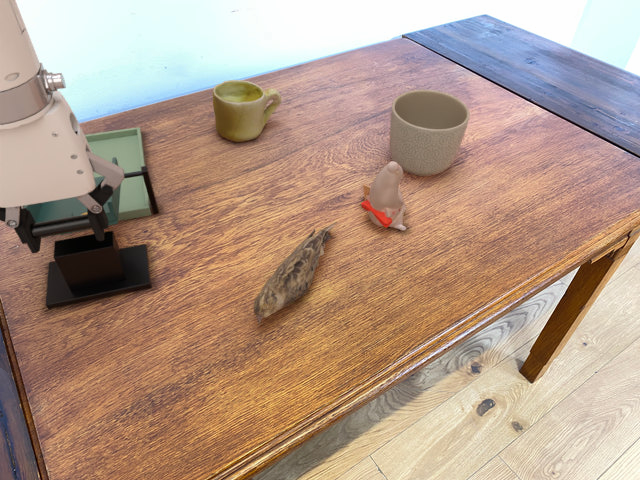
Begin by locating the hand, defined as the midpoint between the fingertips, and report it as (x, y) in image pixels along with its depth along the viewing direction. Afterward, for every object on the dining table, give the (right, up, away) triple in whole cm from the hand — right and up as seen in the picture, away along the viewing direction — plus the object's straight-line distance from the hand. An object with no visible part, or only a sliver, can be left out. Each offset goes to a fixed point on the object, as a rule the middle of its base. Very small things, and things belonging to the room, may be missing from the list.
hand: (69, 237), depth 57 cm
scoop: (-2, +3, +7) cm, 8 cm away
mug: (+15, +20, +39) cm, 46 cm away
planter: (+46, +13, +32) cm, 57 cm away
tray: (-8, +10, +27) cm, 30 cm away
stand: (-3, -3, +15) cm, 16 cm away
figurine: (+38, +3, +23) cm, 44 cm away
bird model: (+25, -6, +13) cm, 29 cm away
